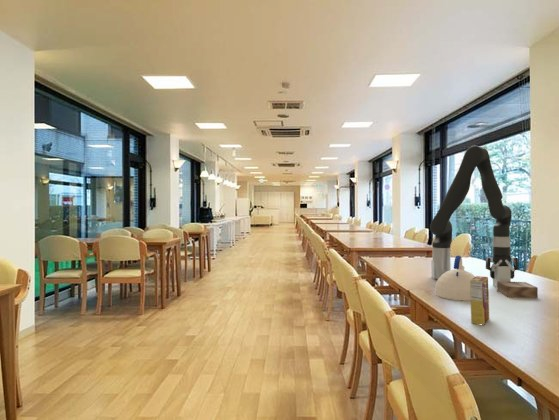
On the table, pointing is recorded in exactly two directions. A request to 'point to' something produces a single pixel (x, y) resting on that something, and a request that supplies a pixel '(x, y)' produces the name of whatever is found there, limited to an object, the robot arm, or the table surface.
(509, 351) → the table surface
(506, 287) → the walnut block
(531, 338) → the table surface
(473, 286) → the candy box
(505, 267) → the small box
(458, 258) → the kettle
